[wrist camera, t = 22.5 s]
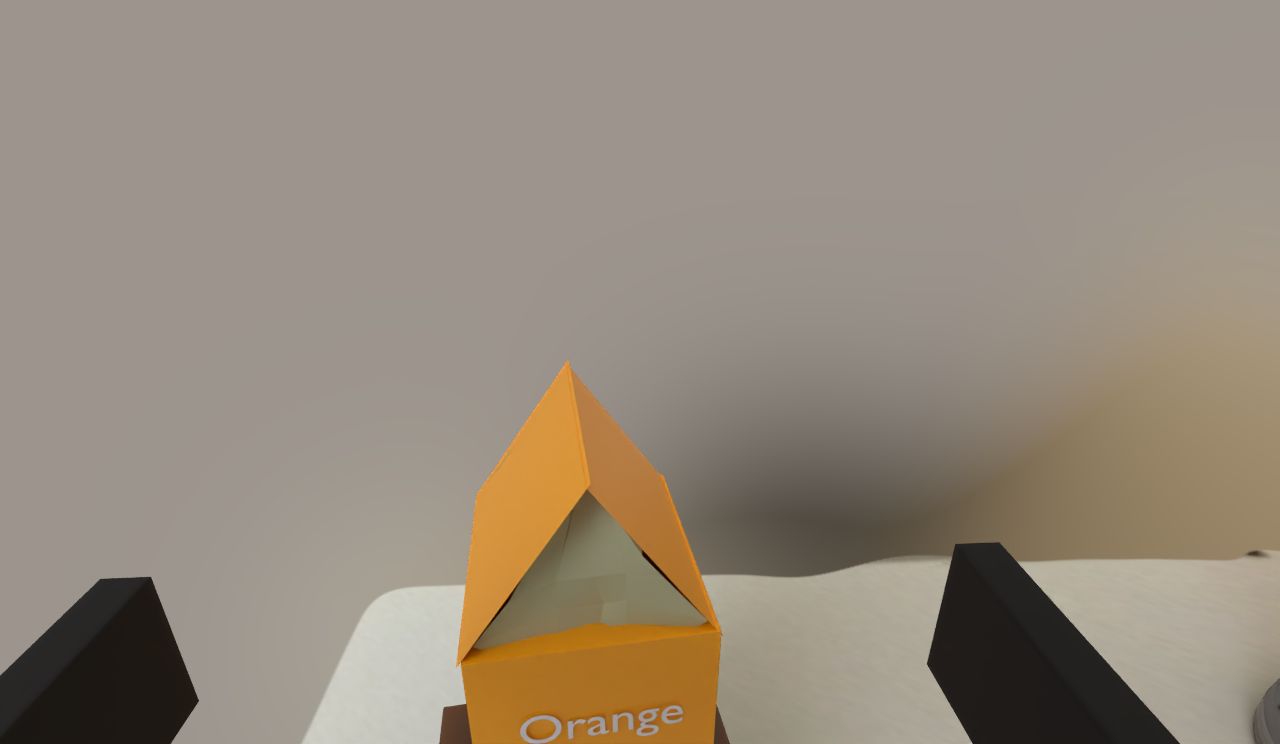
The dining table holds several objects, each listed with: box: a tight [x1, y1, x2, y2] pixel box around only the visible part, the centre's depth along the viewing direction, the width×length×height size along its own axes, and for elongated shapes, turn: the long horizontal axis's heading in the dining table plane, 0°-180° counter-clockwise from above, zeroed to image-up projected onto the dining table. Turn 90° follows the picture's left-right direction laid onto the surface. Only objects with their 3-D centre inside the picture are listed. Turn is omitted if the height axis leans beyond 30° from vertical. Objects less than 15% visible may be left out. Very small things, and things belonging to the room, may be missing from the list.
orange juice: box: [456, 360, 722, 744], centre depth 24 cm, size 8×9×20 cm
